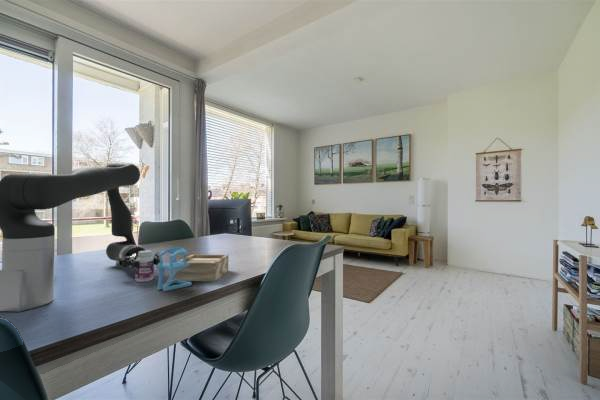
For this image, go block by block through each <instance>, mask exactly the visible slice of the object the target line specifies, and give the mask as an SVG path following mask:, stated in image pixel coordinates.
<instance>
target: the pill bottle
mask: <svg viewBox="0 0 600 400" xmlns="http://www.w3.org/2000/svg"><path fill="white" fill-rule="evenodd" d="M151 255H153V251H152V250H150V249H149V250H148V249H147V250H146V249H145V251H139V252H138V256H139V257H138V258H137V259H136V260H137V261H138V268H134V269H135V271H134V273H135V276H134V281H135V282H137V283H143V282H144V283H146V282H150V281H152V280H153V279H154V277H155V264H154V258H153V257H152V256H151Z"/></svg>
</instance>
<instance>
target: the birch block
mask: <svg viewBox="0 0 600 400" xmlns="http://www.w3.org/2000/svg"><path fill="white" fill-rule="evenodd" d="M177 261H178V262H183V258H182V259H179V260H177ZM186 263H189V266H186V267H183V268H181V269H179V270H178V271H177V272H176V274H175V275H174V277H173V280H174V279H177V280H182V281H187V282H216V281H218V280H219V279H220V278H221V277H223V276H224V275H225V274H226V273H227V272H228V271H229V254H197V253H195V254H191V255H188V256H186Z"/></svg>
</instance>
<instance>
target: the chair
mask: <svg viewBox="0 0 600 400" xmlns="http://www.w3.org/2000/svg"><path fill="white" fill-rule="evenodd" d="M188 252H189V251H187V250H186V249H185V248H183V247H181V246H180V247H179V246H177V247H174V248H173V247H171V248H166V249H165V250H163V251H161V252H159V253H160V254H158V256H159V259H160V262H159V263H158V265H156V266H155V267H156V269H158V280H157V288H156V290H157V291H160V290H162V292H167V291H172V290H176V289H181V288H186V287H190V286H192V282H193V281H182V280H177V279H174V275H175V274H176V272H177V271H178V270H179V269H181V268H183V267H186V266H189V263H186V257H188V256H187V255H188ZM168 253H169V258H170V260H169V262H164V259H163V257H162V256H164V255H166V254H168ZM178 255H182V256H183V258H182V259H183V262H178V261H179V260H176V259H177V258H176V257H177V256H178ZM166 270H167V271H170V273H169V275H168V278H167V280H166V282H165V283H164V282H163V281H164V275H165V271H166ZM175 283H177V284H175ZM172 284H174V285H172Z"/></svg>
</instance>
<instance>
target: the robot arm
mask: <svg viewBox="0 0 600 400" xmlns="http://www.w3.org/2000/svg"><path fill="white" fill-rule="evenodd" d="M140 178H141V171H140V169H139V168H138V167H137V165H135V164H133V163H129V162H128V163H127V162H109V163H108V164H106V165H105V166H86V167H80V168H75V169H73V170H72V171H71V172H69V173H68V174H49V173H27V172H26V173H21V172H20V173H19V172H17V173H10V174H6V175H4V176H3V177H2V178H1V179H0V230H1V233H2V241H1V245H2V249H1V250H2V251H1V269H0V312H17V313H18V312H23V311H26V310H30V309H35V308H39V307H42V306H45V305H48V304H50V303H51V302H53V301H54V291H55V290H54V287H55V280H54V277H55V239H56V237H55V226H54V224H52V223H50V222H48V221H44V220H42V219H40V218H39V217H38V216H37V214H36V211H37V210H39V211H40V210H41V211H42V210H43V211H44V210H50V209H51V210H52V209H54V208H57V207H59V206H62V205H64V204H66V203H69V202H71V201H73V200H76V199H79V198H85V197H90V196H91V197H92V196H94V195H98V194H101V193H103V192H107V198H108V203H109V209H110V215H111V221H110V222H111V235H112V236H114V237H122V238H125V240H122V241H115V242H111V243H109V244H108V245H107V246H106V249H105V254H106V256H107V258H108V259H110V260H111V261H115V266H117V267H121V268H127V267H128V268H132V269H135V268H138V261H137V260H136V259H137V258H138V257H139V256H138V252H139V251H145V250H146V249H145V248H143V247H141V246H139V245H137V244H136V241H135V237H134V234H133V227H132V226H133V221H132V220H133V218H132V213H131V210H130V209H129V207H128V206H127V204H126V202H125V201H124V200H123V198H122V196H121V193H120V187H126V186H128V187H129V186H134V185H136V184H137V183H138V182H139V180H140ZM160 253H161V252H156V253H154V254H152V255H151V256H152V257H153V258H154V266H157V265H159V263H160V259H159V256H158V254H160Z"/></svg>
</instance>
